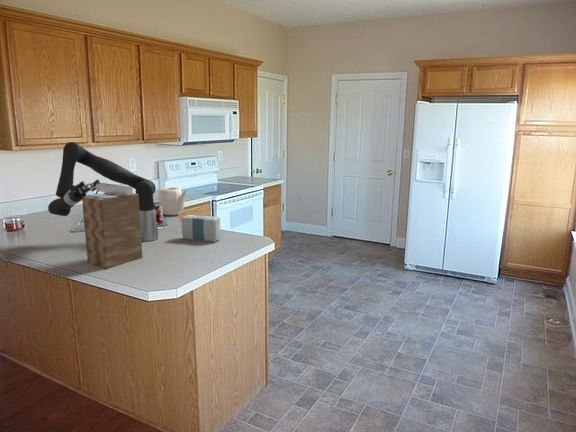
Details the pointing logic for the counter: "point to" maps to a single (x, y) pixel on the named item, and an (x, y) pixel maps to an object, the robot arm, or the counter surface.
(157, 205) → the soda can
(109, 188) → the bar
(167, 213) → the cream teapot
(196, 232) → the white banded box
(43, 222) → the counter surface
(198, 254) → the counter surface
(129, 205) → the stand
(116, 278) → the counter surface
